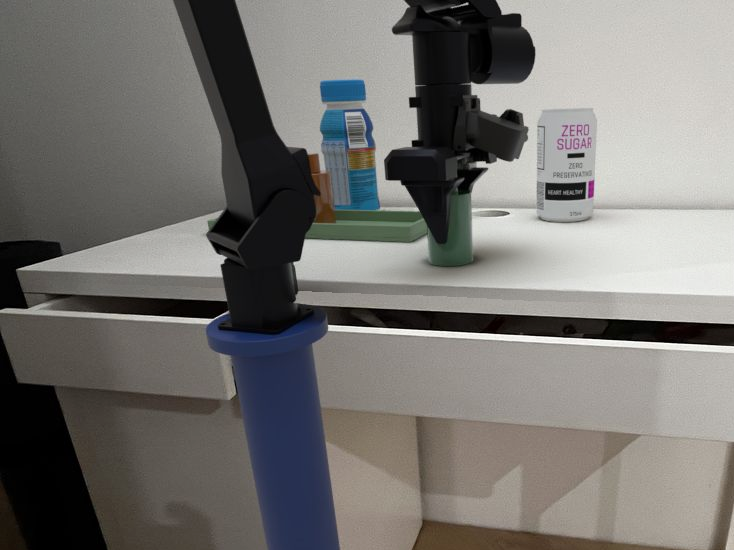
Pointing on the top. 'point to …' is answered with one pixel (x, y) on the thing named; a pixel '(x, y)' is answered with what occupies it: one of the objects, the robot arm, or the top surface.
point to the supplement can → (566, 164)
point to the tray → (369, 226)
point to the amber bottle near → (322, 192)
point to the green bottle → (455, 233)
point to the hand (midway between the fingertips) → (449, 238)
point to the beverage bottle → (349, 145)
